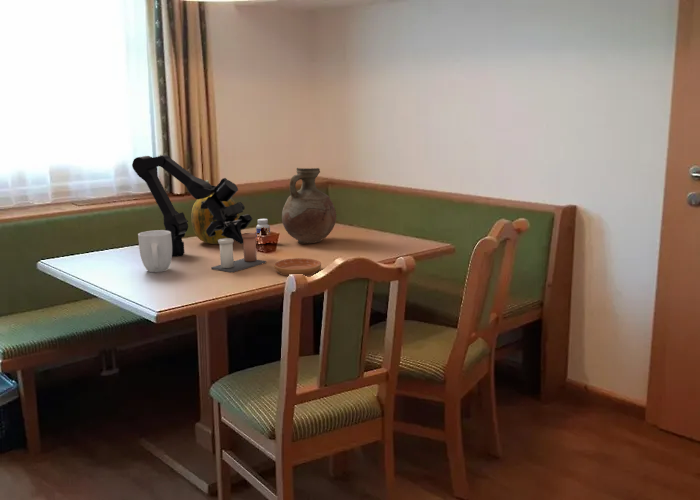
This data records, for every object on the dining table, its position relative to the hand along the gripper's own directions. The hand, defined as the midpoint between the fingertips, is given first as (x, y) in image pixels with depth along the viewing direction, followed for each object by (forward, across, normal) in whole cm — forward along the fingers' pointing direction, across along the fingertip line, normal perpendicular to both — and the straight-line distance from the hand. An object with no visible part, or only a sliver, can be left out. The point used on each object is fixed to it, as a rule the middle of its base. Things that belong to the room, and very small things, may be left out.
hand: (242, 243), depth 263 cm
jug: (+4, +39, +5) cm, 39 cm away
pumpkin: (-18, +19, +28) cm, 39 cm away
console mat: (+7, -6, +2) cm, 9 cm away
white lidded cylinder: (+7, -11, +2) cm, 14 cm away
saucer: (+24, -1, -13) cm, 27 cm away
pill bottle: (-6, +27, +16) cm, 32 cm away
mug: (-6, -26, +16) cm, 31 cm away
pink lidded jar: (+7, 0, +2) cm, 8 cm away
